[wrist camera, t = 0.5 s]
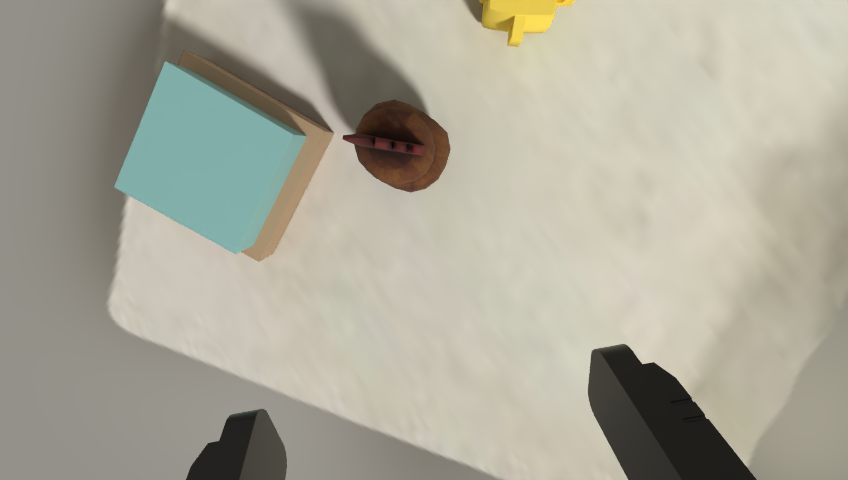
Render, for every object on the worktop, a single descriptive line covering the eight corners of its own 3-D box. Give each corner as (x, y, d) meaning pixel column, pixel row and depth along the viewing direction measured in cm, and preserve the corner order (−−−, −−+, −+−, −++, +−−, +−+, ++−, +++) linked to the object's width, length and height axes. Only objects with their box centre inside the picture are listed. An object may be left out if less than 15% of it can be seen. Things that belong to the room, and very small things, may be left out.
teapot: (456, 48, 34) (458, 29, 29) (464, -32, 33) (468, -66, 28) (556, 57, 34) (576, 40, 29) (568, -23, 32) (591, -56, 27)
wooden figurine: (356, 156, 36) (295, 159, 21) (390, 95, 35) (351, 53, 20) (424, 198, 36) (411, 229, 22) (460, 139, 35) (472, 129, 21)
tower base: (205, 58, 35) (157, 39, 29) (334, 133, 36) (312, 129, 30) (151, 186, 37) (97, 192, 31) (273, 253, 38) (242, 271, 32)
